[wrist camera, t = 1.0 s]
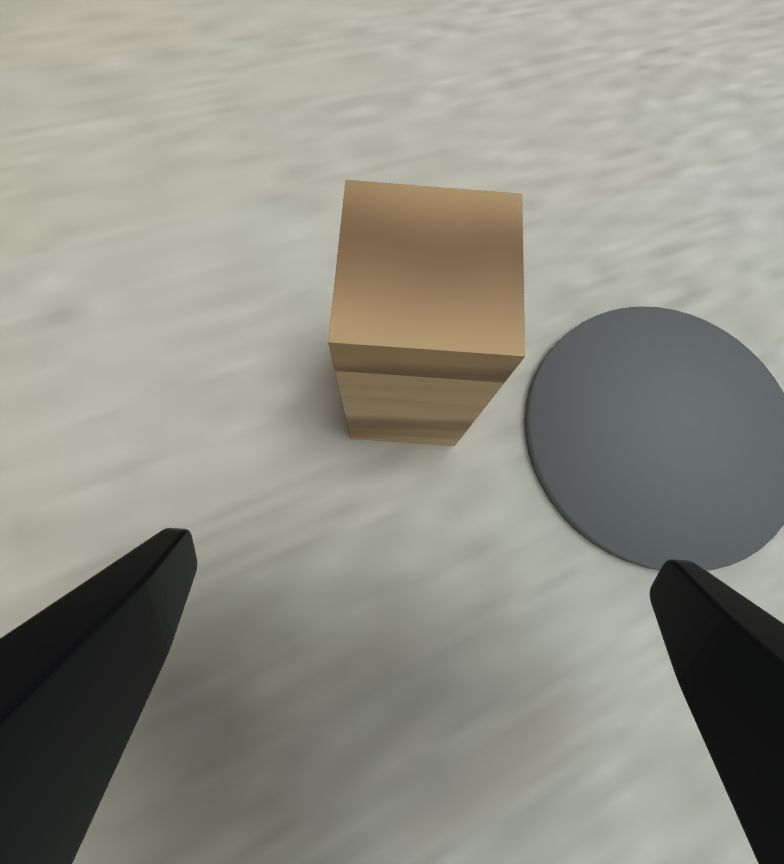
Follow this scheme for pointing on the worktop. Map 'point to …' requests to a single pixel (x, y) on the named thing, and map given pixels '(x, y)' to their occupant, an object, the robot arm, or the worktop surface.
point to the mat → (660, 438)
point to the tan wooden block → (425, 308)
